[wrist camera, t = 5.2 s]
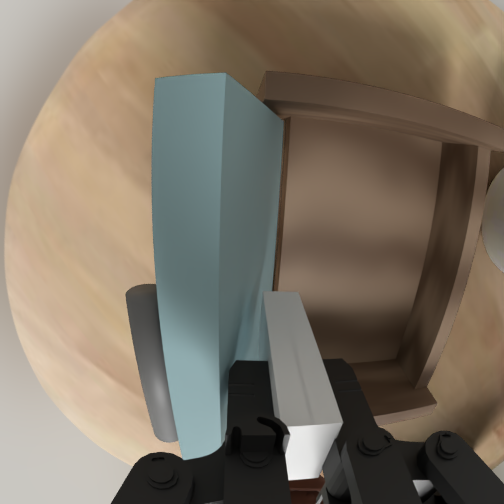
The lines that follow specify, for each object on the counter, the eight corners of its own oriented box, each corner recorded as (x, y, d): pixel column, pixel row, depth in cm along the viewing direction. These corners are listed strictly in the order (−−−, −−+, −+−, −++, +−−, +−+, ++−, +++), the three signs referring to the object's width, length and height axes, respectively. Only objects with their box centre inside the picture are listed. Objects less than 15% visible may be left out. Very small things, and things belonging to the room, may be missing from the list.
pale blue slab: (265, 365, 22) (223, 508, 11) (228, 359, 23) (169, 493, 11) (283, 121, 17) (224, 71, 5) (235, 119, 17) (109, 84, 6)
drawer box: (394, 354, 26) (431, 414, 18) (243, 361, 25) (245, 436, 17) (440, 129, 19) (513, 133, 11) (255, 99, 18) (266, 71, 11)
